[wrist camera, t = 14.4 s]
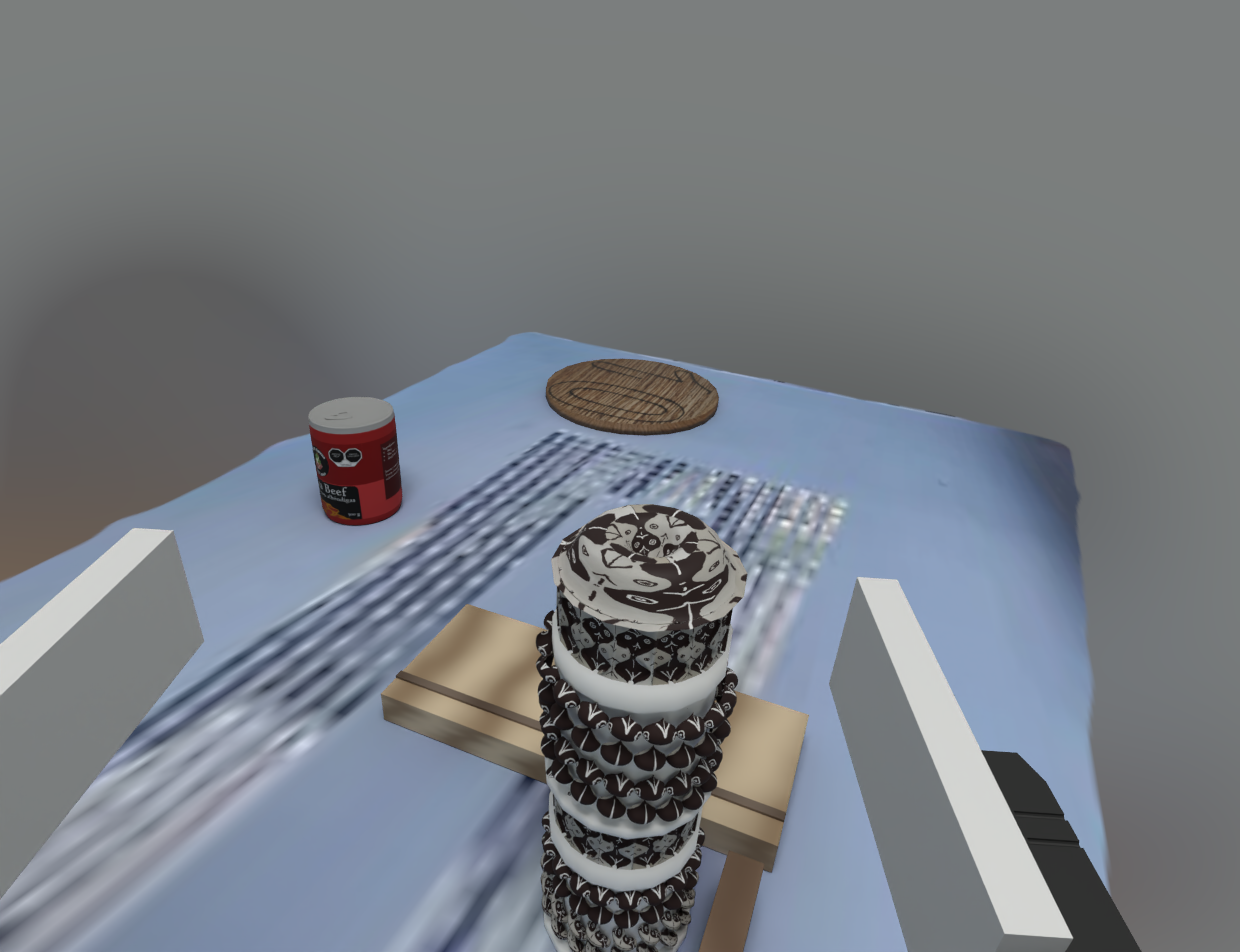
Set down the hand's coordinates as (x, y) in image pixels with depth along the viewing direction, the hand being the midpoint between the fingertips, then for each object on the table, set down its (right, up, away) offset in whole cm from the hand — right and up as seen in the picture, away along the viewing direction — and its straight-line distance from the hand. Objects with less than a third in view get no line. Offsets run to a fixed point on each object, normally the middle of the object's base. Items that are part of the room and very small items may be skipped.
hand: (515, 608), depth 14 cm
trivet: (+4, +14, +93) cm, 94 cm away
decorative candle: (+2, -22, +28) cm, 35 cm away
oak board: (0, -16, +38) cm, 41 cm away
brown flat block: (+8, -23, +25) cm, 35 cm away
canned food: (-25, -1, +63) cm, 67 cm away
